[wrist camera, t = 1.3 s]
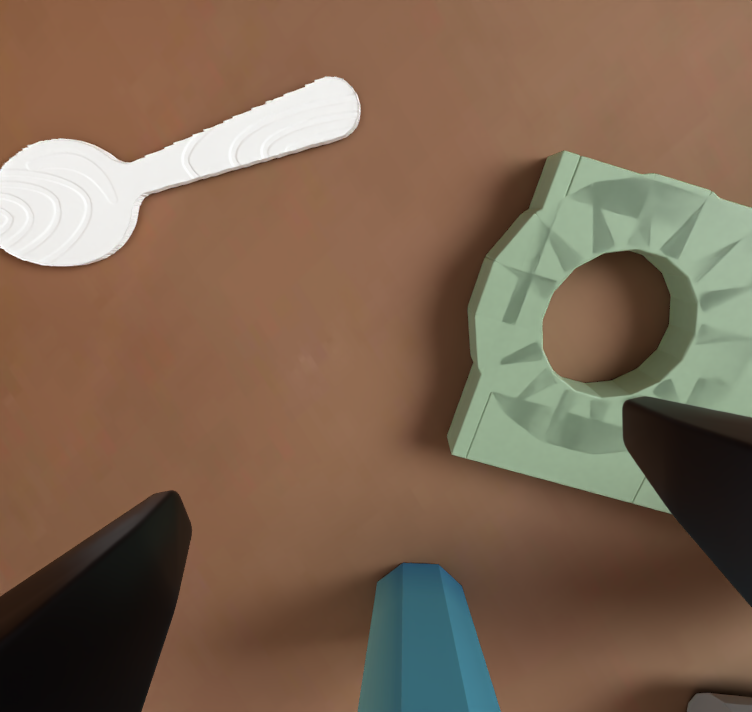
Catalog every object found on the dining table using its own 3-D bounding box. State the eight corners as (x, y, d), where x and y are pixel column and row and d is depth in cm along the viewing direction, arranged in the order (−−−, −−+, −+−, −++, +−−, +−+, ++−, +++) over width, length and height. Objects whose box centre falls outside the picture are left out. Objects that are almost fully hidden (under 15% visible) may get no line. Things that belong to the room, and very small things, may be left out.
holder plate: (884, 254, 21) (935, 258, 19) (729, 513, 25) (758, 538, 23) (523, 144, 20) (536, 136, 18) (424, 430, 24) (427, 448, 22)
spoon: (377, 165, 20) (377, 163, 20) (23, 286, 22) (14, 288, 22) (338, 30, 19) (337, 25, 18) (-36, 173, 21) (-47, 172, 20)
